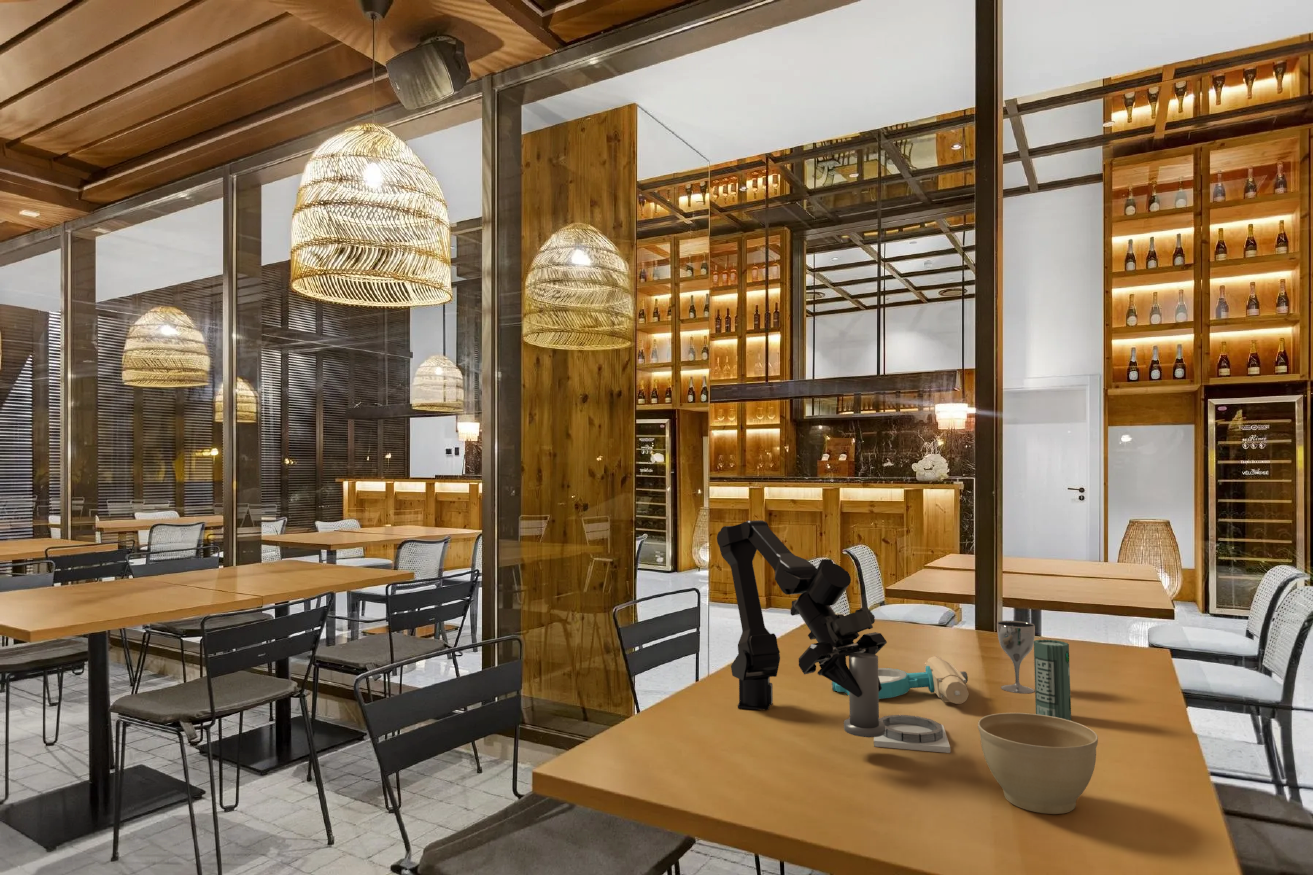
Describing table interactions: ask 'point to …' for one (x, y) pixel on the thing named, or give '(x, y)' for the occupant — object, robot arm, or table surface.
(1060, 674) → the can
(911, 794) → the table surface
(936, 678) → the butterfly valve
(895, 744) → the flange plate
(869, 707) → the pipe fitting
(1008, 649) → the wine glass
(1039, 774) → the planter bowl
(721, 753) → the table surface
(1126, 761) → the table surface
